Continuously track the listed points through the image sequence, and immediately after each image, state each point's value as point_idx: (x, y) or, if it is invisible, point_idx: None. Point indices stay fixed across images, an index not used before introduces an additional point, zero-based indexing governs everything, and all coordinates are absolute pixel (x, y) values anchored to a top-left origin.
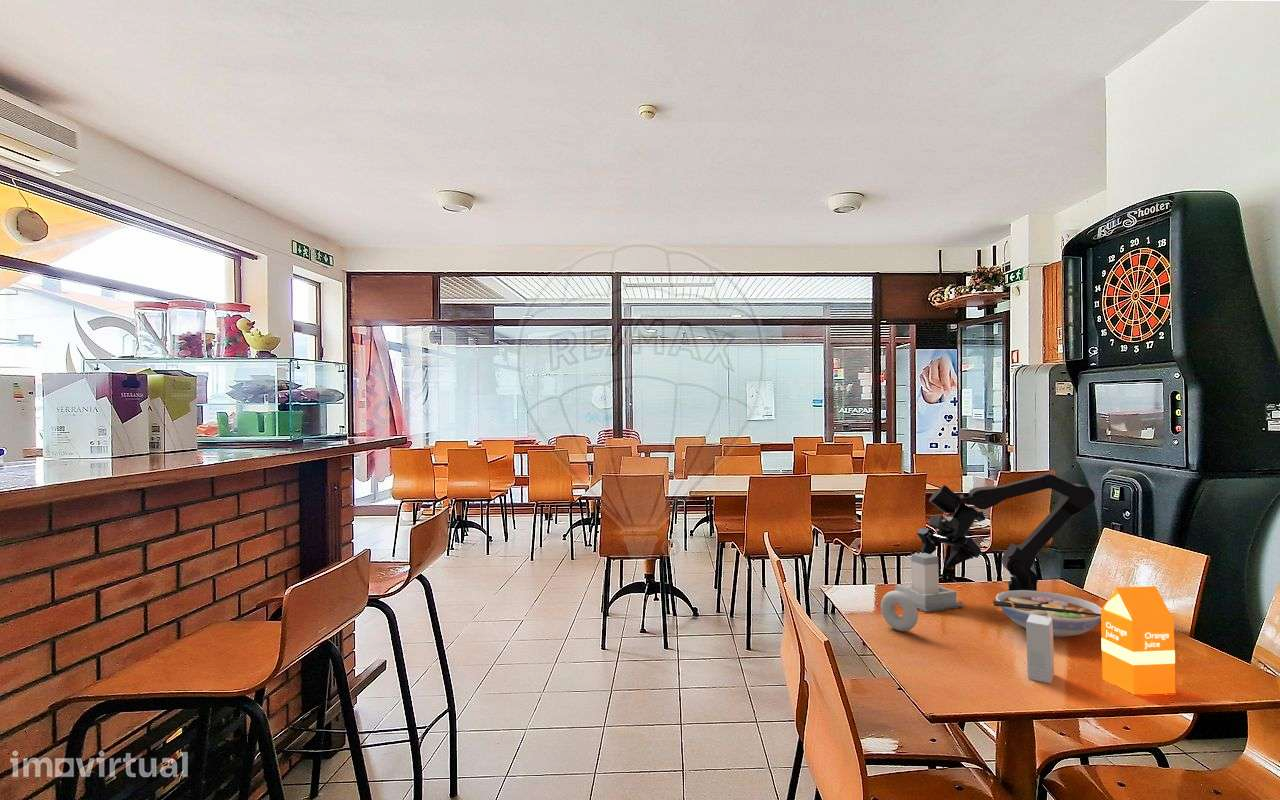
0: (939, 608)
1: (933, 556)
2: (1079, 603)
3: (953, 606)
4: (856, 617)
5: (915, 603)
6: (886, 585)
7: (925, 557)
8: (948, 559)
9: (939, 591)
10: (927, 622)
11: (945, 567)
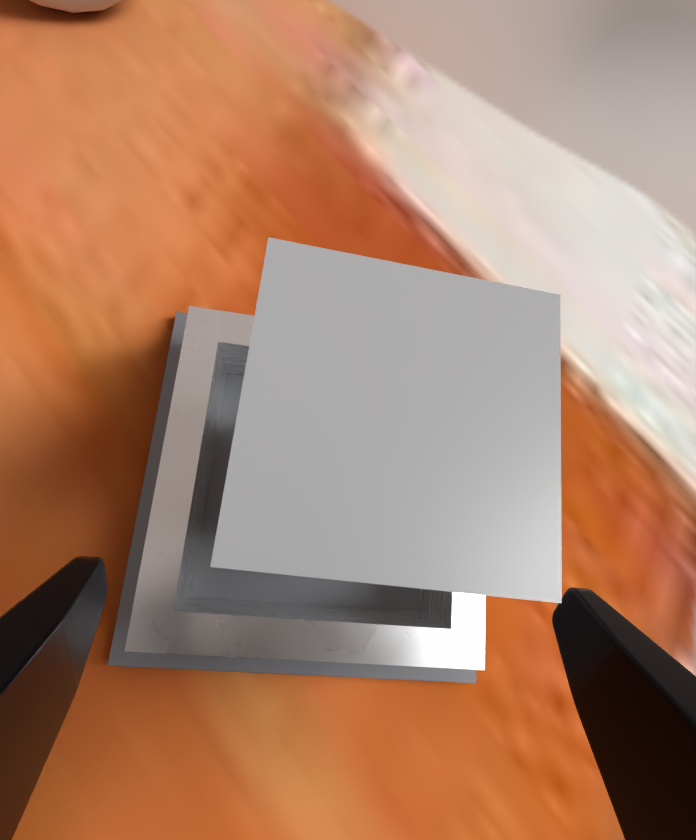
0: (154, 424)
1: (273, 491)
2: None
3: (130, 556)
4: (314, 9)
5: None
6: (687, 570)
7: (293, 294)
8: (7, 664)
9: (289, 612)
10: (64, 195)
11: (91, 561)
